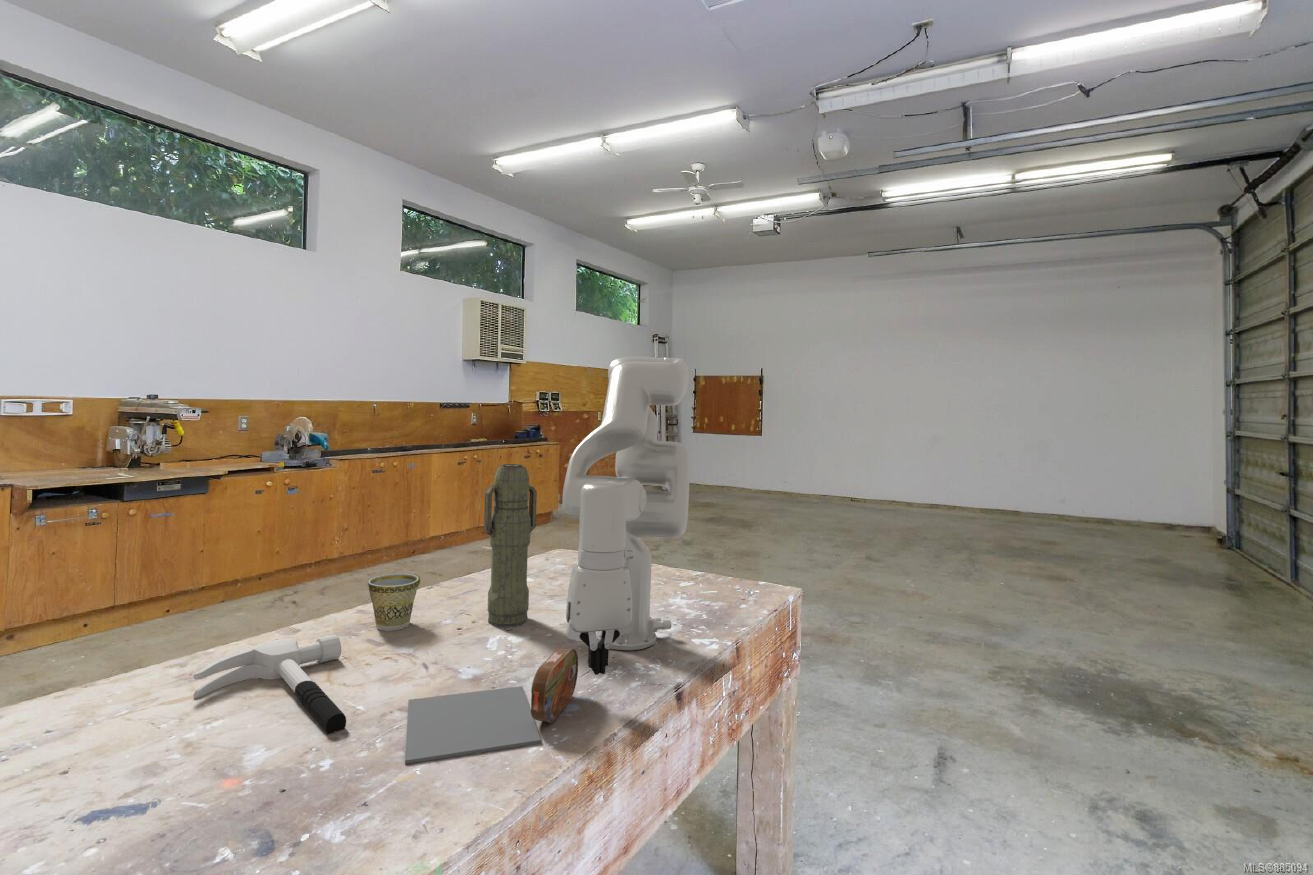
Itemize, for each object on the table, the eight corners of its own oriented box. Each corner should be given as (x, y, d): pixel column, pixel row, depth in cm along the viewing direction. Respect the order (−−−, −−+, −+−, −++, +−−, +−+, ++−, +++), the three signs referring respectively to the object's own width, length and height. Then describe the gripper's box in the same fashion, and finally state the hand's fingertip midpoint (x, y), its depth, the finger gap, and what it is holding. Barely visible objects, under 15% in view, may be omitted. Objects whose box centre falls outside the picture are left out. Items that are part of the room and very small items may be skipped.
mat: (522, 688, 105) (522, 686, 105) (540, 743, 88) (540, 739, 88) (408, 702, 99) (408, 699, 99) (405, 764, 82) (405, 760, 82)
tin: (544, 733, 90) (549, 676, 90) (524, 729, 91) (529, 672, 91) (577, 691, 105) (582, 642, 105) (560, 688, 106) (564, 639, 105)
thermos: (541, 619, 140) (546, 465, 138) (496, 632, 131) (500, 467, 130) (519, 610, 146) (523, 462, 144) (474, 621, 137) (478, 464, 136)
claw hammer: (401, 687, 96) (332, 627, 117) (232, 738, 80) (187, 659, 101) (400, 720, 96) (331, 655, 117) (231, 778, 80) (187, 691, 101)
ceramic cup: (394, 636, 126) (395, 588, 126) (356, 629, 130) (357, 582, 129) (436, 618, 139) (437, 573, 138) (401, 611, 142) (402, 568, 142)
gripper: (637, 551, 106) (634, 657, 106) (550, 555, 100) (547, 667, 101) (653, 562, 99) (648, 675, 99) (560, 567, 93) (556, 686, 94)
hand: (597, 670), depth 100 cm, fingers closed
